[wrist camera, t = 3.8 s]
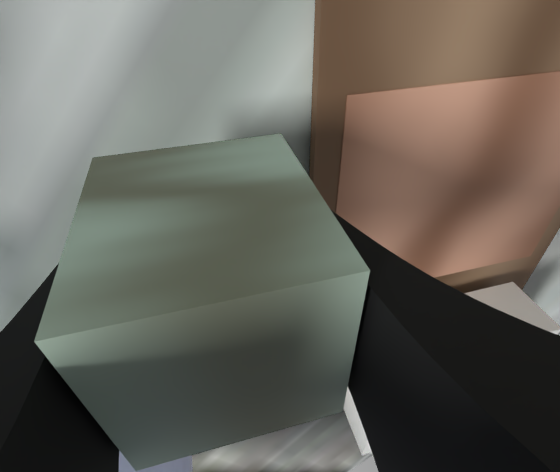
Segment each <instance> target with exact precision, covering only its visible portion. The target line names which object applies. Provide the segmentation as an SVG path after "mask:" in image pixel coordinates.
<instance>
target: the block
mask: <svg viewBox="0 0 560 472" xmlns="http://www.w3.org/2000/svg"><path fill="white" fill-rule="evenodd" d="M369 274H370V269H369V268H368V266H367V265H366V263H365V262H364V260H363V259H362V257H361V256H360V254H359V253H358V251H357V250H356V248H355V246H354V245H353V243H352V242H351V240H350V239H349V237H348V236H347V234H346V233H345V231H344V230H343V228H342V226H341V225H340V223H339V222H338V220H337V219H336V217H335V216H334V214H333V213H332V211H331V210H330V208H329V207H328V205H327V203H326V202H325V200H324V199H323V197H322V196H321V194H320V193H319V191H318V190H317V188H316V187H315V185H314V184H313V182H312V180H311V179H310V177H309V176H308V174H307V173H306V171H305V170H304V168H303V167H302V165H301V164H300V162H299V160H298V159H297V157H296V156H295V154H294V153H293V151H292V150H291V148H290V147H289V145H288V144H287V142H286V141H285V139H284V137H283V136H282V134H273V135H265V136H257V137H250V138H242V139H234V140H226V141H218V142H211V143H203V144H195V145H187V146H180V147H172V148H164V149H156V150H149V151H141V152H133V153H125V154H118V155H110V156H102V157H94V158H93V159H92V162H91V165H90V168H89V171H88V174H87V177H86V181H85V184H84V187H83V190H82V193H81V196H80V199H79V203H78V206H77V209H76V212H75V215H74V218H73V221H72V224H71V228H70V231H69V234H68V237H67V240H66V243H65V246H64V250H63V253H62V256H61V259H60V262H59V265H58V268H57V271H56V275H55V278H54V281H53V284H52V287H51V290H50V293H49V297H48V300H47V303H46V306H45V309H44V312H43V315H42V319H41V322H40V325H39V328H38V331H37V334H36V337H35V340H34V342H35V343H36V345H37V346H38V347H39V349H40V350H41V351H42V352H43V354H44V355H45V356H46V357H47V359H48V360H49V361H50V363H51V364H52V365H53V366H54V368H55V369H56V370H57V371H58V373H59V374H60V375H61V377H62V378H63V379H64V380H65V382H66V383H67V384H68V385H69V387H70V388H71V389H72V391H73V392H74V393H75V394H76V396H77V397H78V398H79V399H80V401H81V402H82V403H83V405H84V406H85V407H86V408H87V410H88V411H89V412H90V413H91V415H92V416H93V417H94V419H95V420H96V421H97V422H98V424H99V425H100V426H101V427H102V429H103V430H104V431H105V433H106V434H107V435H108V436H109V438H110V439H111V440H112V441H113V443H114V444H115V445H116V447H117V448H118V449H119V450H120V452H121V453H122V454H123V455H124V457H125V458H126V459H127V461H128V462H129V463H130V464H131V466H132V467H133V468H134V469H135V471H138V470H142V469H145V468H149V467H152V466H156V465H159V464H163V463H166V462H170V461H173V460H177V459H180V458H184V457H187V456H190V455H194V454H197V453H201V452H204V451H208V450H211V449H215V448H218V447H222V446H225V445H229V444H232V443H236V442H239V441H243V440H246V439H250V438H253V437H257V436H260V435H264V434H267V433H271V432H274V431H278V430H281V429H285V428H288V427H292V426H295V425H299V424H302V423H306V422H309V421H313V420H316V419H320V418H323V417H327V416H330V415H334V414H337V413H341V412H343V408H344V402H345V397H346V392H347V387H348V382H349V377H350V372H351V366H352V361H353V356H354V351H355V346H356V341H357V336H358V331H359V325H360V320H361V315H362V310H363V305H364V300H365V295H366V289H367V284H368V279H369Z"/></svg>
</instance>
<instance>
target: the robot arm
mask: <svg viewBox="0 0 560 472" xmlns="http://www.w3.org/2000/svg"><path fill="white" fill-rule="evenodd" d="M330 210H331V209H330ZM331 211H332V210H331ZM332 213H333V214H334V216H335V217H336V219H337V220H338V222H339V223H340V225H341V226H342V228H343V230H344V231H345V233H346V234H347V236H348V237H349V239H350V240H351V242H352V243H353V245H354V246H355V248H356V250H357V251H358V253H359V254H360V256H361V257H362V259H363V260H364V262H365V263H366V265H367V266H368V268H369V269H370V274H369V279H368V284H367V289H366V295H365V300H364V305H363V310H362V315H361V320H360V325H359V331H358V336H357V341H356V346H355V351H354V356H353V361H352V366H351V372H350V377H349V382H348V388H349V391H350V393H351V396H352V398H353V401H354V404H355V406H356V409H357V412H358V415H359V417H360V420H361V423H362V426H363V428H364V431H365V434H366V437H367V440H368V442H369V445H370V448H371V451H372V454H373V457H374V460H375V463H376V465H377V468H378V471H379V472H560V336H559V335H557V334H554V333H552V332H549V331H547V330H544V329H542V328H539V327H537V326H534V325H532V324H530V323H527V322H525V321H523V320H520V319H518V318H516V317H514V316H511V315H509V314H507V313H504V312H502V311H500V310H497V309H495V308H493V307H491V306H489V305H487V304H485V303H482V302H480V301H478V300H476V299H474V298H472V297H470V296H468V295H466V294H464V293H462V292H460V291H459V290H457V289H455V288H453V287H451V286H449V285H447V284H445V283H443V282H441V281H439V280H437V279H436V278H434V277H432V276H430V275H428V274H427V273H425V272H423V271H422V270H420V269H418V268H417V267H415V266H413V265H412V264H410V263H408V262H407V261H405V260H403V259H402V258H400V257H399V256H397V255H395V254H394V253H392V252H391V251H389V250H388V249H386V248H385V247H383V246H382V245H380V244H379V243H377V242H376V241H374V240H373V239H371V238H370V237H368V236H367V235H365V234H364V233H363V232H361V231H360V230H358V229H357V228H356V227H354V226H353V225H351V224H350V223H349V222H347V221H346V220H344V219H343V218H342V217H340V216H339V215H338V214H336V213H335V212H333V211H332ZM58 265H59V263H58ZM58 265H57V266H56V267H55V268H54V270H53V271H52V272H51V273H50V275H49V276H48V277H47V278H46V280H45V281H44V282H43V283H42V284H41V286H40V287H39V288H38V289H37V290H36V292H35V293H34V294H33V295H32V296H31V298H30V299H29V300H28V301H27V302H26V304H25V305H24V306H23V307H22V308H21V310H20V311H19V312H18V313H17V314H16V316H15V317H14V318H13V319H12V320H11V321H10V322H9V324H8V325H7V326H6V327H5V328H4V329H3V330H2V331H1V332H0V472H193V467H192V455H190V456H187V457H184V458H180V459H177V460H173V461H170V462H166V463H163V464H159V465H156V466H152V467H149V468H145V469H142V470H138V471H135V469H134V468H133V467H132V466H131V464H130V463H129V462H128V461H127V459H126V458H125V457H124V455H123V454H122V453H121V452H120V450H119V449H118V448H117V447H116V445H115V444H114V443H113V441H112V440H111V439H110V438H109V436H108V435H107V434H106V433H105V431H104V430H103V429H102V427H101V426H100V425H99V424H98V422H97V421H96V420H95V419H94V417H93V416H92V415H91V413H90V412H89V411H88V410H87V408H86V407H85V406H84V405H83V403H82V402H81V401H80V399H79V398H78V397H77V396H76V394H75V393H74V392H73V391H72V389H71V388H70V387H69V385H68V384H67V383H66V382H65V380H64V379H63V378H62V377H61V375H60V374H59V373H58V371H57V370H56V369H55V368H54V366H53V365H52V364H51V363H50V361H49V360H48V359H47V357H46V356H45V355H44V354H43V352H42V351H41V350H40V349H39V347H38V346H37V345H36V343H35V342H34V340H35V337H36V334H37V331H38V328H39V325H40V322H41V319H42V315H43V312H44V309H45V306H46V303H47V300H48V297H49V293H50V290H51V287H52V284H53V281H54V278H55V275H56V271H57V268H58Z"/></svg>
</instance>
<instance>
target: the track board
mask: <svg viewBox="0 0 560 472" xmlns="http://www.w3.org/2000/svg"><path fill="white" fill-rule="evenodd" d="M309 177H310V179H311V180H312V182H313V184H314V185H315V187H316V188H317V190H318V191H319V193H320V194H321V196H322V197H323V199H324V200H325V202H326V203H327V205H328V207H329V208H330V209H331V210H332V211H333V212H335V213H336V214H338V215H339V216H340V217H342V218H343V219H344V220H346V221H347V222H349V223H350V224H351V225H353V226H354V227H356V228H357V229H358V230H360V231H361V232H363V233H364V234H365V235H367V236H368V237H370V238H371V239H373V240H374V241H376V242H377V243H379V244H380V245H382V246H383V247H385V248H386V249H388V250H389V251H391V252H392V253H394V254H395V255H397V256H399V257H400V258H402V259H403V260H405V261H407V262H408V263H410V264H412V265H413V266H415V267H417V268H418V269H420V270H422V271H423V272H425V273H427V274H428V275H430V276H432V277H434V278H436V279H437V280H439V281H441V282H443V283H445V284H447V285H449V286H451V287H453V288H455V289H457V290H459V291H460V292H462V293H467V292H472V291H476V290H480V289H484V288H489V287H493V286H497V285H501V284H505V283H510V282H514V283H515V284H516V285H517V286H518V287H519V288H520V289H521V290H522V289H523V287H524V285H525V284H526V282H527V281H528V279H529V277H530V276H531V274H532V272H533V271H534V269H535V267H536V266H537V264H538V263H539V261H540V259H541V258H542V256H543V254H544V253H545V251H546V249H547V248H548V246H549V245H550V243H551V241H552V240H553V238H554V236H555V235H556V233H557V231H558V230H559V228H560V0H315V26H314V55H313V83H312V112H311V140H310V168H309Z"/></svg>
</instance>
